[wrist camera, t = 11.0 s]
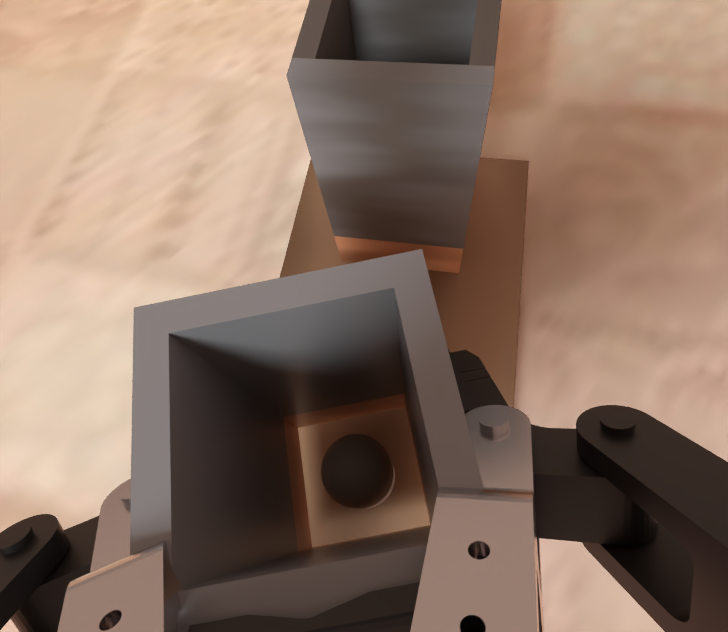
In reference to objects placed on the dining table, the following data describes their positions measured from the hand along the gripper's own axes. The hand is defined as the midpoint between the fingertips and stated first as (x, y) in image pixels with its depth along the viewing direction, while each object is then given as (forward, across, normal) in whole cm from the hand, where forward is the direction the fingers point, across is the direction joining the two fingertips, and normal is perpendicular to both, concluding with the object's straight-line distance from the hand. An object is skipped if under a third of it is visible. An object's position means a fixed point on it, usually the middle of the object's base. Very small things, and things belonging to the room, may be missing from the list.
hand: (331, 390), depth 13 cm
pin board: (+8, -2, +3) cm, 9 cm away
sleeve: (+2, 0, +4) cm, 5 cm away
